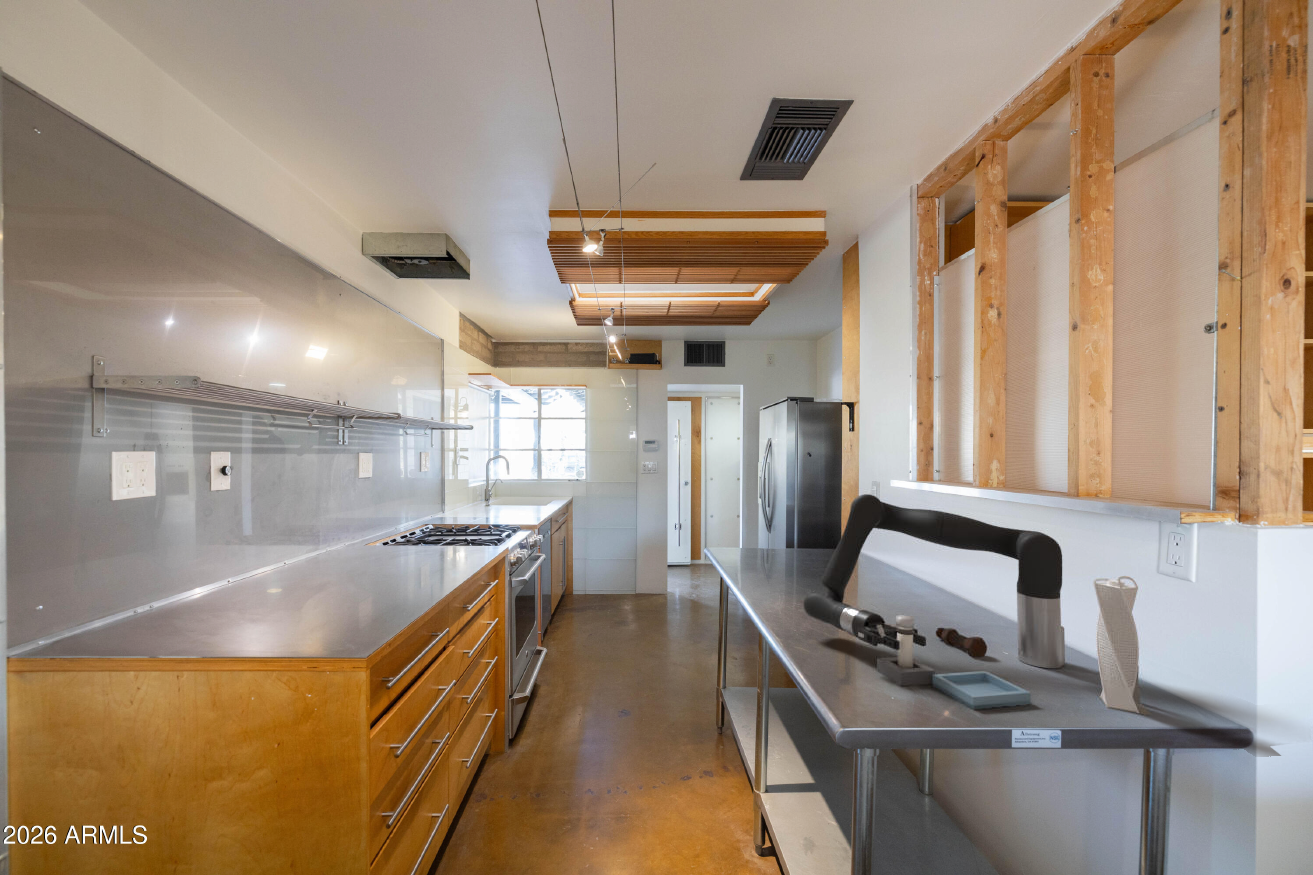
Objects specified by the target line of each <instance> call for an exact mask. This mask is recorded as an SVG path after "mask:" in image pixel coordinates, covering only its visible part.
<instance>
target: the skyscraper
mask: <svg viewBox="0 0 1313 875" xmlns="http://www.w3.org/2000/svg"><path fill="white" fill-rule="evenodd" d="M1124 579H1125V580H1130V581H1131V582H1132V583H1133V585H1128V584H1125V583H1126V582H1125V581H1123V580H1124ZM1105 581H1106V582H1105ZM1093 587H1094V591H1095V595H1096V598H1097V602H1098V606H1099V611H1098V614H1097V615H1098V616H1097V622H1096V633H1095V634H1096V635H1095V636H1096V637H1095V638H1096V639H1095V640H1096V653H1097V654H1096V655H1097V662H1098V664H1097V665H1098V669H1099V676H1100V677H1099V678H1100V681H1101V682H1100V683H1101V687H1102V691H1101V694H1097V696H1098V698H1099V699H1100V700H1101V702H1102V703H1103V704H1104V705H1105V707H1106V708H1107V709H1111V710H1118V711H1125V712H1129V713H1135V714H1141V715H1147V716H1152V714H1151V713H1150V712H1149V711H1148V710H1147V709H1146V707H1145V706H1144V705H1143V704H1142V702H1141V700H1140V696H1141V694H1140V693H1141V686H1140V684H1139V671H1140V670H1139V668H1140V666H1139V662H1140V661H1139V658H1140V652H1139V650H1140V647H1139V646H1140V645H1139V636H1138V631H1137V630H1138V629H1137V626H1136V623H1135V619H1134V615H1133V610H1134V606H1135V602H1136V597H1137V594H1138V589H1139V586H1138V583H1137V582H1136V581H1135V580H1134V578H1132V577H1131V576H1126V575H1124V576H1120V577H1117V579H1109V578H1096V579H1094V580H1093Z"/></svg>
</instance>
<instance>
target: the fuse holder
mask: <svg viewBox="0 0 1313 875" xmlns="http://www.w3.org/2000/svg"><path fill="white" fill-rule="evenodd" d="M876 670H877V672H878V673H879V674H881V675H883V676H884V677H886V678H887V679H889V680H891V681H892V682H893V683H896V684H897V685H898V686H900V687H906V686H921V685H933V675H934V674H936V669H934V668H933V667H931V666H928V665H926V664H924V663H923V662H921V661H920V660H918V659H916V658H914V657H913V668H908V669H902V668H900V667H899V666H898V658H897V656H896V657H895V656H894V657H893V656H892V657H880V658H879V657H878V658H876Z"/></svg>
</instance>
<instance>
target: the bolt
mask: <svg viewBox="0 0 1313 875" xmlns="http://www.w3.org/2000/svg"><path fill="white" fill-rule="evenodd" d="M935 636H936V637H937V638H939V639H940V640H942V641H943V643H944V644H945V643H946V644H945V645H947V644H948V646H956V647H959V648H962V649H964V650H965V651H966V653H967V654H968V656H969V657H971V658H975V657H976V658H983V657H985V655H986V654H987V653H988V652H987V651H988V646H987V643H986V641H985V640H984V639H983V637H980V636H969V637H967V636H965V635H962V634H960V633H959V632H958V631H957V629H955V628H953V627H951V628H947V627H946V628H944V627H938V628H937V629H936V631H935Z"/></svg>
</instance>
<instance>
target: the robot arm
mask: <svg viewBox="0 0 1313 875" xmlns="http://www.w3.org/2000/svg"><path fill="white" fill-rule="evenodd" d="M873 529H878V530H885V531H886V530H887V531H891V532H897V533H901V534H904V535H907V536H910V537H913V538H916V539H918V540H922V541H925V542H929V543H932V544H935V545H940V546H945V547H949V548H954V549H958V550H959V549H960V550H967V551H968V550H969V551H976V552H977V551H979V552H980V551H981V552H989V553H993V554H998V555H1000V556H1005V557H1008V558H1011V559H1015V560H1017V561H1018V564H1017V565H1018V569H1017V570H1018V575H1017V576H1018V577H1017V581H1016V607H1017V608H1016V613H1017V614H1016V616H1017V620H1016V621H1017V658H1018V660H1019V661H1021V662H1023V663H1024V664H1027V665H1030V666H1034V667H1039V668H1045V669H1060V668H1062V666H1066V644H1065V642H1066V641H1065V637H1066V636H1065V628H1064V626H1062V617H1061V616H1062V612H1061V611H1062V610H1061V590H1062V587H1063V553H1062V548H1061V545H1059V543H1058V541H1057V540H1056V539H1054V538H1053V537H1052V536H1049V535H1048V534H1045V533H1043V532H1040V531H1037V530H1036V531H1035V530H1026V529H1015V528H1009V527H1004V526H1003V527H1002V526H998V525H993V524H990V523H987V522H984V521H981V520H979V519H978V520H977V519H975V518H970V517H966V516H963V515H960V514H955V513H952V512H951V513H949V512H946V511H941V510H940V511H939V510H934V509H922V508H907V507H901V506H897V505H894V504H890V503H886V502H884V501H881V500H880V498H878V497H877V496H875V495H873V494H868V493H867V494H865V493H864V494H861V495H859V496H857V497H855V498H854V500H853V501H852V502H851V503H850V510H849V515H848V518H847V521H846V525H845V528H844V531H843V534H842V535H841V538H840V540H839V542H838V544H837V546H836V548H835V551H834V552H833V554H832V555H831V558H830V560H829V562H828V564H827V565H826V568H825V571H824V573H823V574H822V577H821V578H820V579H821V580H820V582H821V585H822V586H824V587H825V588H826V589H827V595H823V594H821V593H819V592H812V593H809V594H808V595H806V596H805V598H804V599H803V609H804V611H805V613H806V614H807V615H808V616H809V617H811V618H814V619H816V620H817V621H820V622H822V623H825V624H830V625H832V626H833V627H835V628H837V629H839V630H841V631H843V632H846V633H848V635H850V636H853V637H854V638H857V639H858V640H860V641H862V642H864V643H867V644H869V645H871V646H874V647H877V646H878V645H880V646H881V647H887V648H890V649H892V650H895V651H897V650H899V649H900V642H899V641H898V640H897V625H894V624H893V623H887V622H886V621H885V620H884V617H882V616H881V614H878V613H876V612H873V611H869V610H867V609H865V608H862V607H857V606H853V605H850V604H848V603H845V602H844V597H845V592H846V588H847V586H848V584H849V582H850V580H851V579H852V578H851V577H852V575H853V572H854V571H855V568H856V565H857V562H858V560H859V557H860V554H861V551H862V549H863V547H864V545H865V542H866V540H867V538H868V536H870V534H871V532H872V531H873ZM918 630H919V629H916V628H915V627H914V628H913V644H916V645H917V646H921V647H926V646H927V638H926V637H925V636H923V635H921V634H918V633H919V631H918Z"/></svg>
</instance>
